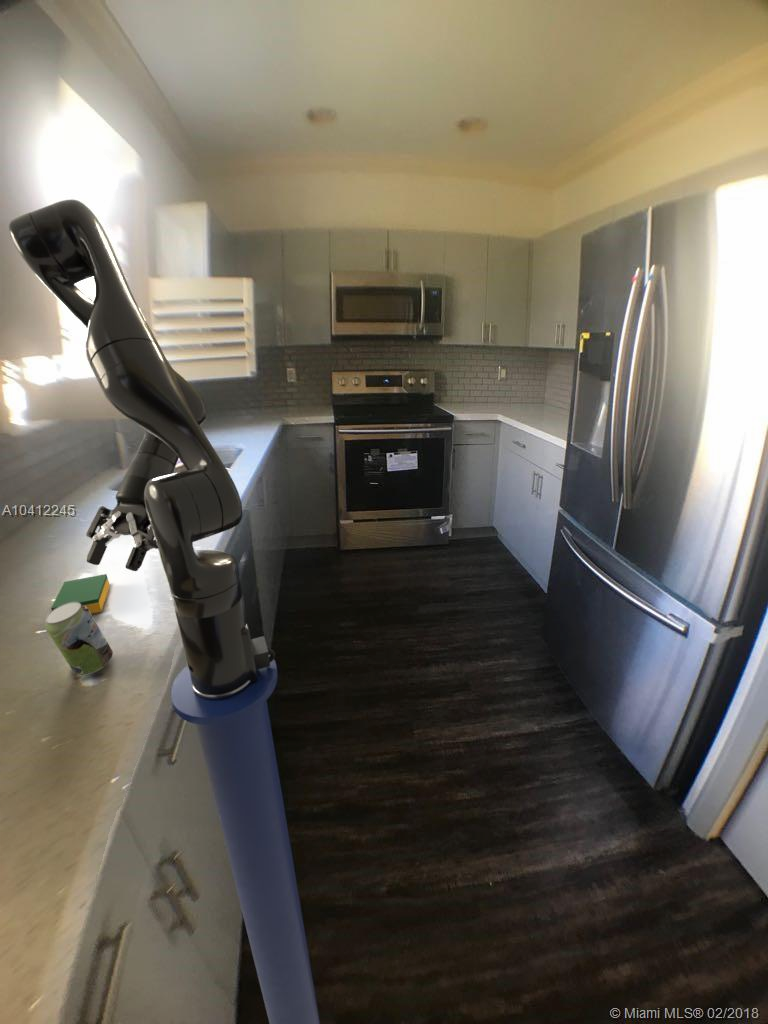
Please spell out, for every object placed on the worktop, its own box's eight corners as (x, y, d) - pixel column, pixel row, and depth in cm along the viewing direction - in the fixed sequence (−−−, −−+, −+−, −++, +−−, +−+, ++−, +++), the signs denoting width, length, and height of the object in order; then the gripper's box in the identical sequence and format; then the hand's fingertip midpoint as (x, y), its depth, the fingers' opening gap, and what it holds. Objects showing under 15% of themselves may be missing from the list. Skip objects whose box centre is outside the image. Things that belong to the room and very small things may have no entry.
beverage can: (122, 662, 78) (103, 601, 73) (75, 689, 72) (52, 625, 68) (103, 649, 81) (84, 591, 76) (57, 674, 75) (34, 613, 71)
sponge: (109, 585, 102) (106, 573, 101) (101, 611, 92) (97, 598, 91) (68, 593, 99) (64, 581, 98) (55, 621, 89) (50, 608, 88)
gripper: (101, 471, 83) (61, 555, 77) (164, 476, 79) (128, 565, 73) (130, 489, 90) (96, 568, 84) (191, 494, 86) (159, 578, 80)
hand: (111, 566), depth 79 cm, fingers open, 8 cm apart
